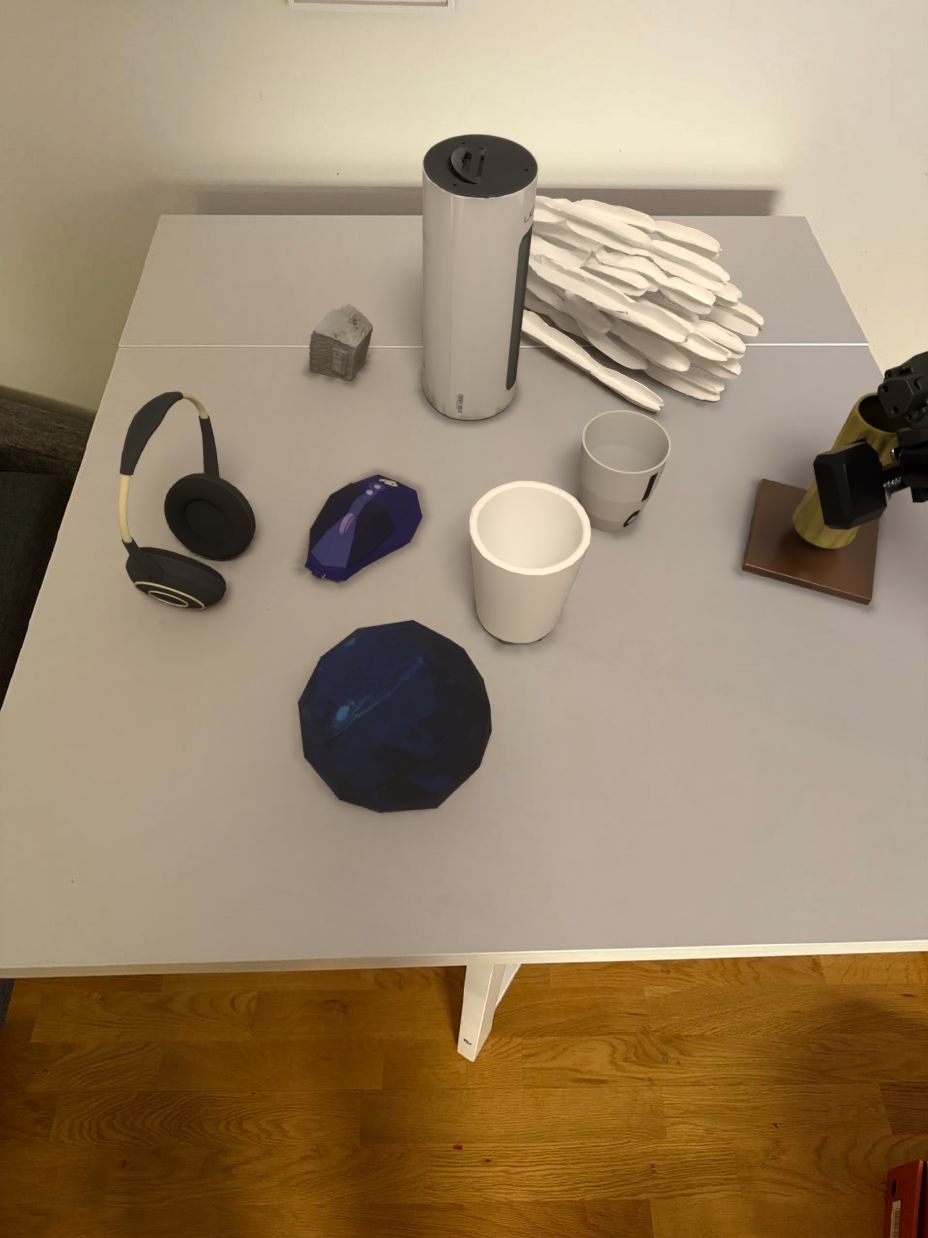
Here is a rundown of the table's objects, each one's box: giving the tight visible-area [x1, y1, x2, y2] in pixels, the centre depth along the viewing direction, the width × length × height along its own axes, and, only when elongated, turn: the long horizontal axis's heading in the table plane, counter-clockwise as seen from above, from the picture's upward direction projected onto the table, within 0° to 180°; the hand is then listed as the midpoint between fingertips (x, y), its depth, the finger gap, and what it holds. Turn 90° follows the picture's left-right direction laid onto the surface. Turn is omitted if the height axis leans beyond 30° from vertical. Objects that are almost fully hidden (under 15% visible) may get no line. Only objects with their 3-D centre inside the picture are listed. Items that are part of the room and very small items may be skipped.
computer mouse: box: [304, 474, 423, 583], centre depth 83 cm, size 9×15×4 cm, turn 152°
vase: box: [792, 391, 910, 549], centre depth 78 cm, size 6×6×14 cm
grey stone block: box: [308, 303, 374, 382], centre depth 94 cm, size 7×9×8 cm
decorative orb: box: [297, 619, 493, 814], centre depth 66 cm, size 14×15×15 cm
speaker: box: [421, 133, 540, 422], centre depth 86 cm, size 11×10×26 cm
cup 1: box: [468, 480, 592, 645], centre depth 75 cm, size 10×10×13 cm
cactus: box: [521, 195, 765, 413], centre depth 96 cm, size 17×18×35 cm
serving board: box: [741, 477, 881, 606], centre depth 86 cm, size 12×12×1 cm
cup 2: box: [578, 409, 672, 533], centre depth 83 cm, size 8×8×10 cm
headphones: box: [117, 390, 257, 611], centre depth 73 cm, size 9×15×20 cm, turn 165°
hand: (843, 463), depth 78 cm, fingers closed on vase, 5 cm apart
